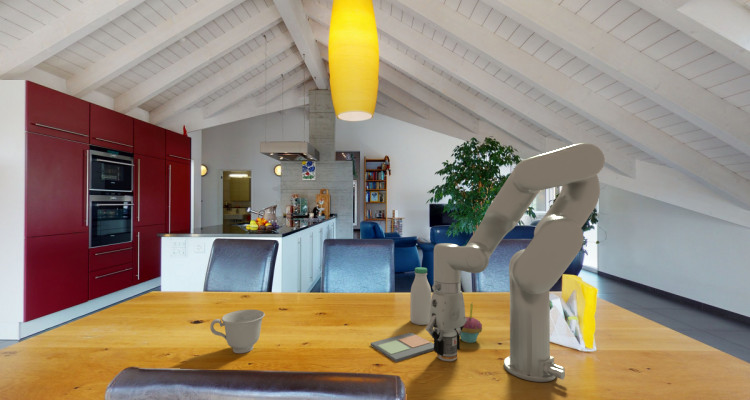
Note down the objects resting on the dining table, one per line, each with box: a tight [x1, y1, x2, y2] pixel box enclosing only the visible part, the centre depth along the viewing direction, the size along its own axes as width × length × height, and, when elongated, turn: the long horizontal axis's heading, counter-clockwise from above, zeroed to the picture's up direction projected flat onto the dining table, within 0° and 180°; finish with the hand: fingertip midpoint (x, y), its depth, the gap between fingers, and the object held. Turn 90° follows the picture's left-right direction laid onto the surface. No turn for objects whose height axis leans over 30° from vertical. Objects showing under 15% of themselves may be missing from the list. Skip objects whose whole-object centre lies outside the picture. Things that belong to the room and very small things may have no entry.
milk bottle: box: [409, 266, 432, 326], centre depth 123 cm, size 8×8×20 cm
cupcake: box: [459, 303, 483, 344], centre depth 106 cm, size 9×8×12 cm
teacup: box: [209, 309, 265, 354], centre depth 98 cm, size 12×15×10 cm
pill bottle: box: [436, 329, 458, 362], centre depth 94 cm, size 6×6×10 cm
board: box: [370, 332, 434, 363], centre depth 100 cm, size 13×16×1 cm
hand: (446, 350), depth 94 cm, fingers closed on pill bottle, 5 cm apart
